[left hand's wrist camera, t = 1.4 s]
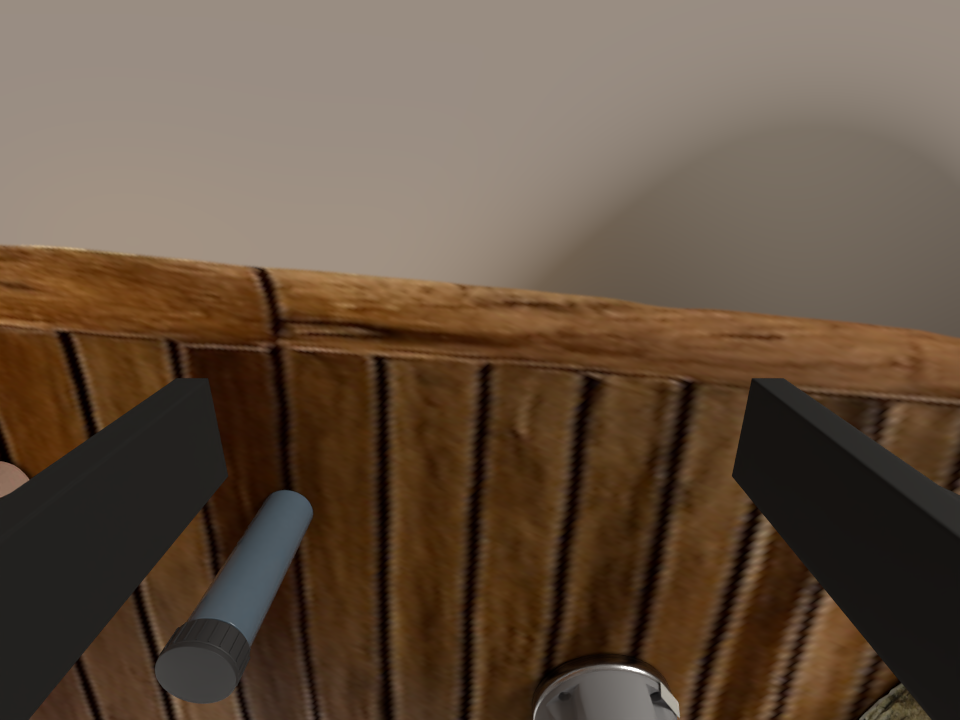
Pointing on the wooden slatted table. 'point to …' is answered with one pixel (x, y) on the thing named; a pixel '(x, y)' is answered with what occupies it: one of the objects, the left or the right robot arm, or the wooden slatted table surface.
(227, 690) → the lid
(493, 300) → the wooden slatted table surface
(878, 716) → the fossil
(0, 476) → the anatomical model
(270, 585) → the blue-grey cylindrical bottle
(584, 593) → the wooden slatted table surface
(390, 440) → the wooden slatted table surface
